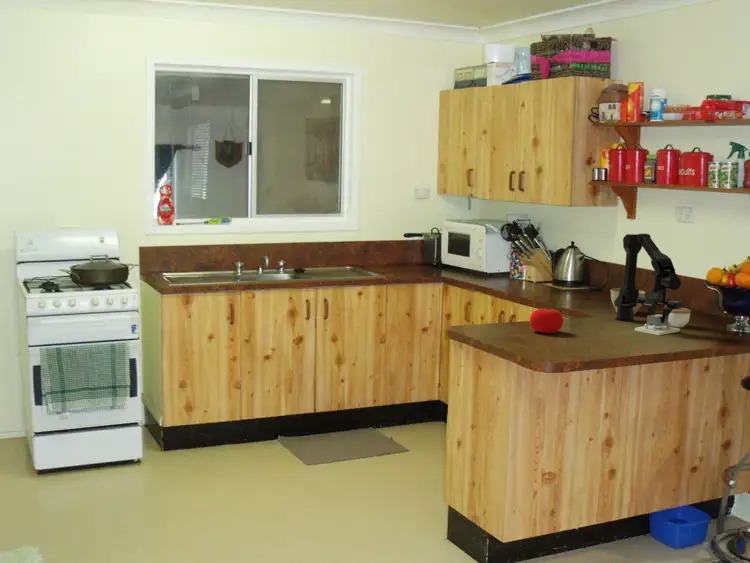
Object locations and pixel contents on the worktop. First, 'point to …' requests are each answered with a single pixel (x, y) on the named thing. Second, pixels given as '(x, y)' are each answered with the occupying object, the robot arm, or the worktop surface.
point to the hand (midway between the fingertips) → (657, 322)
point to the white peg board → (657, 329)
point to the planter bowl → (616, 293)
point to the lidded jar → (679, 317)
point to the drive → (656, 320)
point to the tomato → (546, 320)
